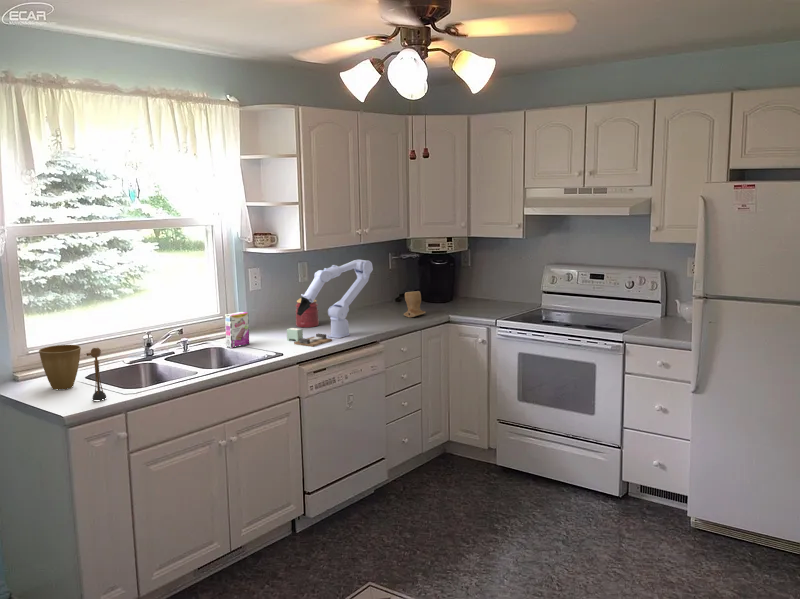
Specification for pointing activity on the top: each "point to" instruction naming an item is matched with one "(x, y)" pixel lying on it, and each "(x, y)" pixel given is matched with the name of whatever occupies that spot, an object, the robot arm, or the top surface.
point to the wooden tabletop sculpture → (97, 374)
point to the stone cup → (413, 304)
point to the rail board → (313, 340)
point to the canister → (307, 315)
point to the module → (294, 334)
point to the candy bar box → (237, 329)
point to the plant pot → (60, 364)
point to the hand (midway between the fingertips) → (298, 313)
